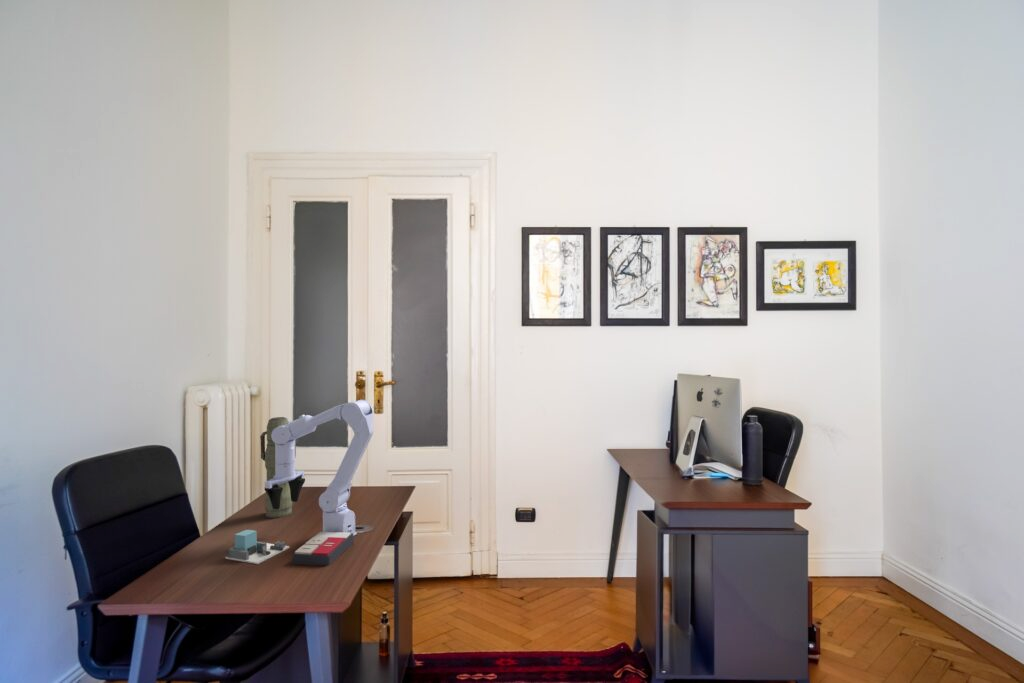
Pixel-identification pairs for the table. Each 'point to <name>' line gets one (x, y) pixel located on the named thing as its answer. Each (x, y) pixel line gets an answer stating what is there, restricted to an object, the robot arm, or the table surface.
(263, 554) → the board
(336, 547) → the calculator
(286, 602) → the table surface
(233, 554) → the end holder
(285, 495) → the thermos
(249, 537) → the pale blue cube
